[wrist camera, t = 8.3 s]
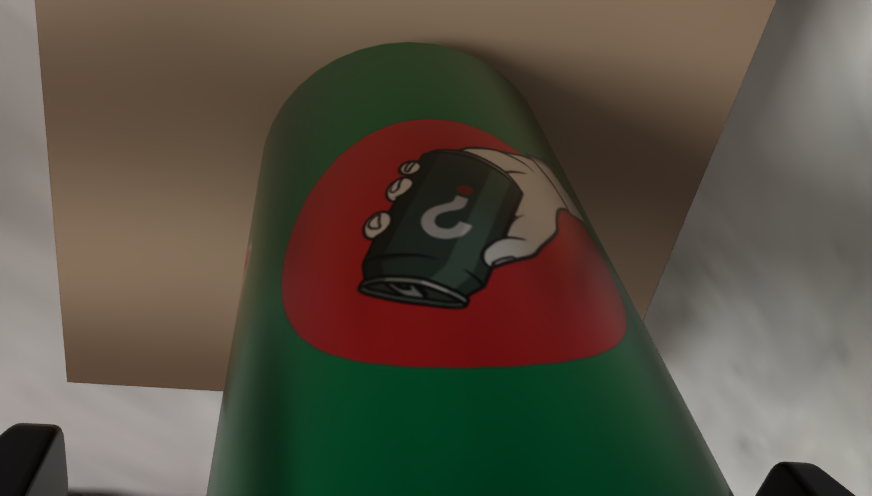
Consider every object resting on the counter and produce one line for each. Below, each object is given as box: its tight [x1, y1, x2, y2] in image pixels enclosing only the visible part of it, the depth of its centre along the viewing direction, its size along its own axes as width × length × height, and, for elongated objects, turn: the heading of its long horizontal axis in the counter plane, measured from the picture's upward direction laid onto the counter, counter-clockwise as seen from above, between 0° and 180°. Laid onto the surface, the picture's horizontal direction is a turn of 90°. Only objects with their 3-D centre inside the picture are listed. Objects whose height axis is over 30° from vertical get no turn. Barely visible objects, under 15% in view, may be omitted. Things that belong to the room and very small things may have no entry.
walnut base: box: [35, 0, 776, 391], centre depth 15 cm, size 12×12×2 cm
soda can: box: [206, 42, 734, 496], centre depth 9 cm, size 5×5×12 cm
